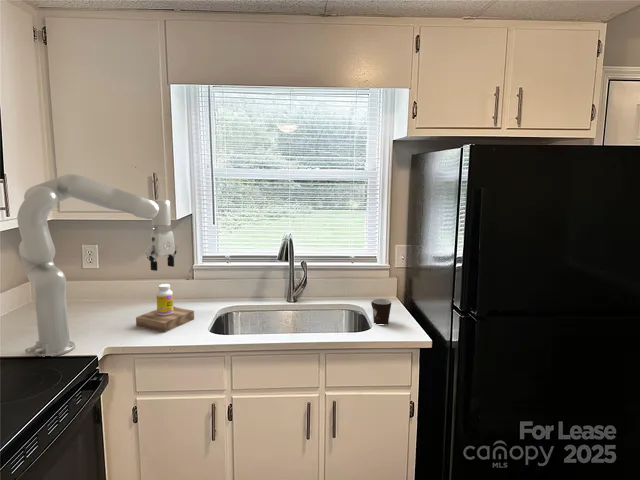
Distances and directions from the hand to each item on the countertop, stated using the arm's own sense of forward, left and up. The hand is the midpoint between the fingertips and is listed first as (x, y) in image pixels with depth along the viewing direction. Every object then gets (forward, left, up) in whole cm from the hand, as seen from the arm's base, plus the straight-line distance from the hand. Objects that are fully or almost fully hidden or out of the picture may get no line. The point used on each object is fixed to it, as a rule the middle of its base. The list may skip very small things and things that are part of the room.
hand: (162, 268), depth 183 cm
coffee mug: (+44, -85, -25) cm, 99 cm away
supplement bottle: (0, 0, -21) cm, 21 cm away
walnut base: (0, 0, -25) cm, 25 cm away
